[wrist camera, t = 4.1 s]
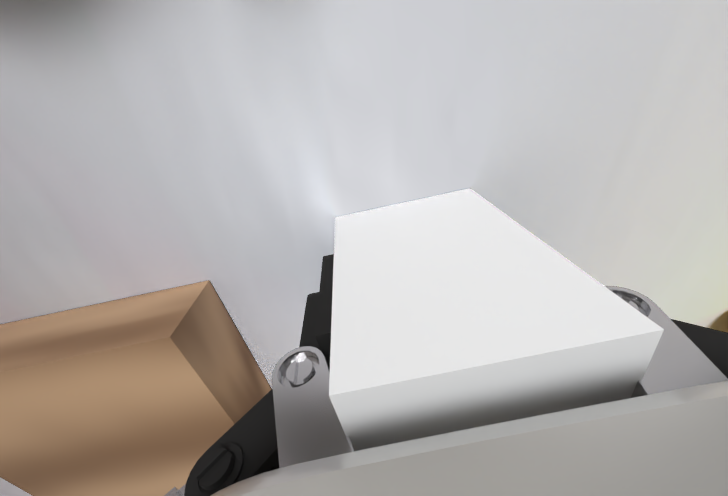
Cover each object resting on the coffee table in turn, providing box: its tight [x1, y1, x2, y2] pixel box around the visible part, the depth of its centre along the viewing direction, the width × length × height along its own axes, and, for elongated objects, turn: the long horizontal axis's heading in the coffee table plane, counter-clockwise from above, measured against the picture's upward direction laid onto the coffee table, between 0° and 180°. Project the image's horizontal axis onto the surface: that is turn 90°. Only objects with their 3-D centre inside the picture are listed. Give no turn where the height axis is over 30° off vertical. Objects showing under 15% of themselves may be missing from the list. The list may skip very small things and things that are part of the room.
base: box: [0, 281, 271, 496], centre depth 13 cm, size 10×10×3 cm
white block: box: [329, 188, 664, 451], centre depth 8 cm, size 5×5×7 cm
